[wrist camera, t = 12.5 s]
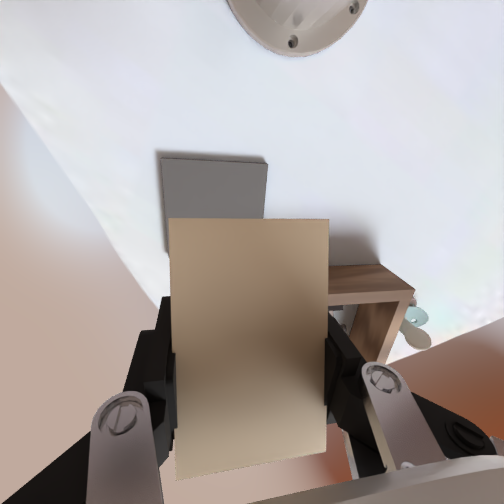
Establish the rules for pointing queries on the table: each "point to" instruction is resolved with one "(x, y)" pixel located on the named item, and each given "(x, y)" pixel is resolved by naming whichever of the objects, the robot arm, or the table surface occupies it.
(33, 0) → the table surface
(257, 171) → the rubber mat
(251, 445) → the tan rectangular block
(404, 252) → the table surface
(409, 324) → the pacifier
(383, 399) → the robot arm
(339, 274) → the block
